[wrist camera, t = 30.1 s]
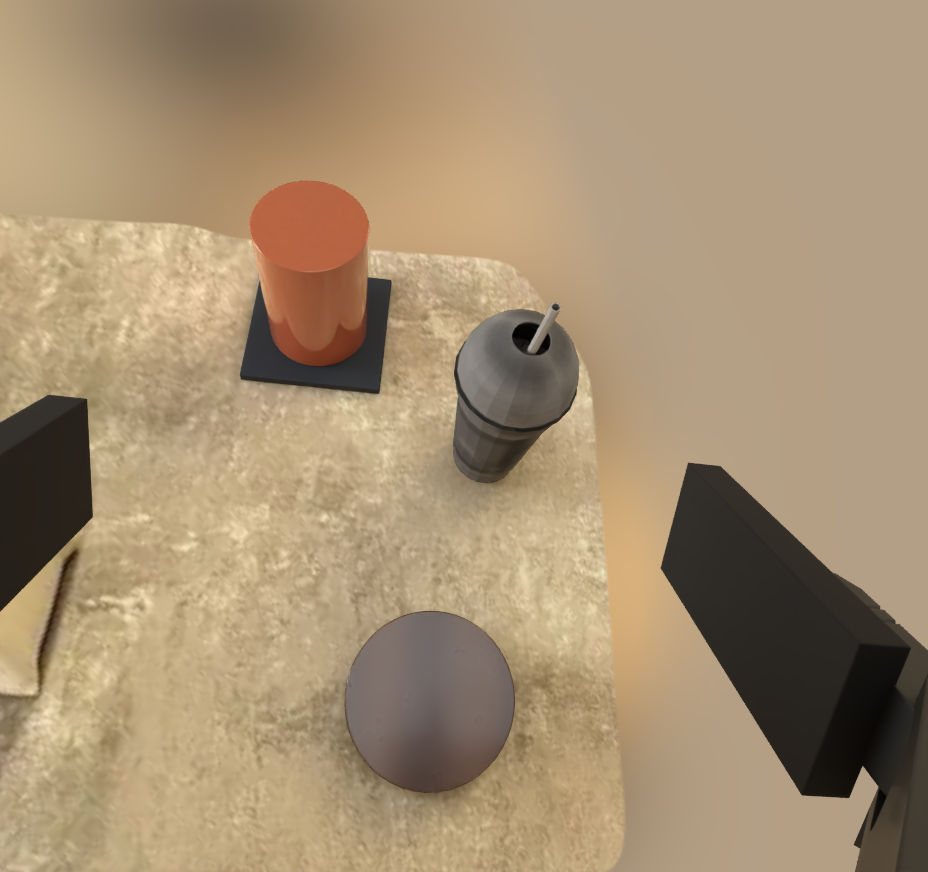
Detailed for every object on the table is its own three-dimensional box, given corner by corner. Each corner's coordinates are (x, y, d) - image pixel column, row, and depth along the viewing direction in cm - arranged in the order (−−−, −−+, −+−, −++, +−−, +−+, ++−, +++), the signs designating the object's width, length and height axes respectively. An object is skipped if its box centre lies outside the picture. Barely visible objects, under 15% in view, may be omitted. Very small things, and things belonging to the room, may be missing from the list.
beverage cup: (528, 409, 53) (616, 229, 35) (537, 501, 50) (639, 354, 32) (432, 408, 52) (472, 220, 34) (435, 501, 49) (481, 349, 31)
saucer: (508, 623, 46) (516, 616, 44) (505, 794, 42) (513, 796, 39) (355, 612, 45) (354, 604, 42) (335, 787, 40) (334, 788, 38)
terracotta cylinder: (371, 292, 55) (374, 188, 45) (361, 371, 52) (363, 279, 42) (277, 281, 54) (260, 173, 44) (262, 361, 51) (239, 264, 41)
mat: (391, 284, 56) (391, 279, 55) (379, 393, 52) (379, 390, 51) (263, 269, 55) (262, 264, 54) (240, 379, 51) (239, 375, 50)
